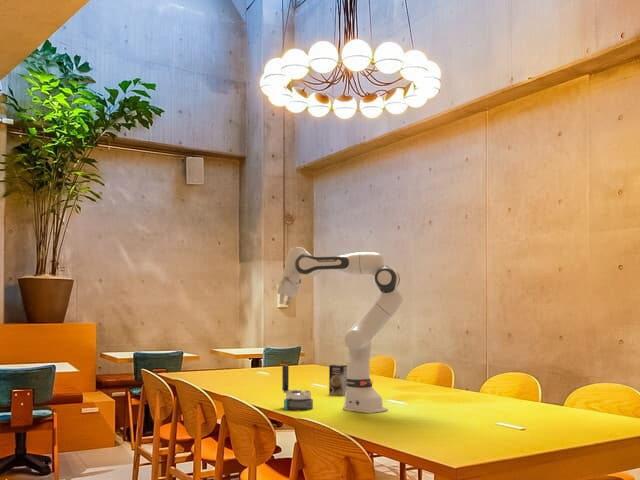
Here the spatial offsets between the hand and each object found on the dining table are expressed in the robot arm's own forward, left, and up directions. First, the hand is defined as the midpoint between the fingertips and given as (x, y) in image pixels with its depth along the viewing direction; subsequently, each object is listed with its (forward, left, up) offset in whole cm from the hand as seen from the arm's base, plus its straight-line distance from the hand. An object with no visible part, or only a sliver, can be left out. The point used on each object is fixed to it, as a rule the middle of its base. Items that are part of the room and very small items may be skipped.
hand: (284, 304), depth 335 cm
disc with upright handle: (-10, 0, -46) cm, 47 cm away
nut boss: (-11, -1, -50) cm, 51 cm away
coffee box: (+13, -46, -50) cm, 69 cm away
